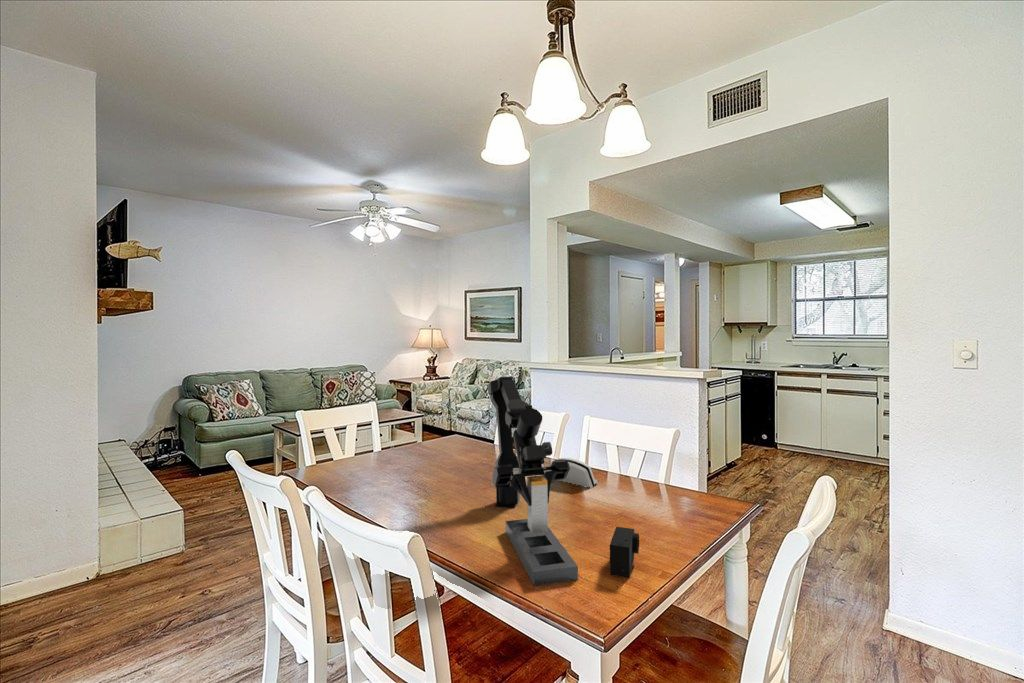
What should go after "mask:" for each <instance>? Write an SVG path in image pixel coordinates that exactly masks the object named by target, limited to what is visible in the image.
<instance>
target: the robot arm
mask: <svg viewBox="0 0 1024 683" xmlns="http://www.w3.org/2000/svg"><path fill="white" fill-rule="evenodd" d="M519 392H520V391H519V390H518V387H517V383H516V379H515V377H514V376H511V375H510V376H500V377H497V379H496V378H495V379H493V380H491V381H490V382H489V383H488V384H487V394H488V396H489V398H490V402H491V404H492V405H493V406H494V408H495V411H496V412H495V415H496V425H497V426H496V427H497V438H498V449H499V454H498V456H497V458H496V461H495V467H494V468H493V471H492V476H491V477H492V484H493V486H494V487H495V489H496V490H495V491H496V492H495V493H496V494H495V496H496V498H495V499H496V502H495V503H494V506H495V507H502V508H503V507H505V508H516V506H517V505H518V504H519V502H520V499H521V498H523V499H524V502H526V505H527V504H528V505H529V506H531V499H530V495H529V492H528V488H527V479H526V477H530V476H541V475H543V476H544V477H545V478H546V479H547V487H548V504H549V502H550V494H551V493H550V491H551V484H552V483H554V481H557V480H563V479H565V478H566V476H567V474H568V472H569V470H570V466H569V463H568V462H567V461H566V460H558V461H554V460H553V461H552V462H551V463H552V464H550V465H551V466H549V465H548V466H543V465H544V464H545V459H547V456H548V457H549V456H551V455H553V447H552V443H551V442H550V441H545V442H542V444H537V439H536V436H538V433H539V430H540V428H541V424H542V422H543V415H542V414H541V412H540V411H539V410H537V409H536V408H533V405H532V404H529V403H528V402H526V401H523V399H522V398H521V395H520V393H519ZM512 429H514V431H513V430H512ZM514 447H515V452H516V453H515V452H514ZM520 496H521V498H520Z"/></svg>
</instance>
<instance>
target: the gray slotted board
mask: <svg viewBox="0 0 1024 683" xmlns="http://www.w3.org/2000/svg"><path fill="white" fill-rule="evenodd" d="M505 533H506V535H507V537H508V539H509V541H510V543H511V545H512V547H513V549H514V550H515V552H516V554H517V557H518V558H519V560H520V562H521V563H522V566H523V568H524V570H525V572H526V571H527V572H526V574H527V575H528V577H529V579H530V581H531V583H532V585H533V584H534V585H533V586H534V587H536V586H535V585H538V586H543V585H542V584H545V585H550V584H558V583H565V582H572V581H573V582H574V581H578V580H579V565H578V564H577V563H576V561H574V559H573V558H572V556H571V555H570V553H568V551H567V550H566V549H565V547H564V545H562V543H561V542H560V540H559V539H558V538H557V536H556V535H555V534H554V533H553V531H552V530H551V529H550V527H549V526H548V532H540V533H531V531H530V529H529V528H528V518H524V519H523V518H522V519H513V520H506V521H505Z"/></svg>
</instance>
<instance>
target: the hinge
mask: <svg viewBox="0 0 1024 683" xmlns="http://www.w3.org/2000/svg"><path fill="white" fill-rule="evenodd" d="M558 460H566V461H567V462H568V463H569V466H570V470H569V472H568V474H567V476H566V478H565V479H563V480H559V481H558V482H561V481H563V482H562V483H565V482H568V483H567V484H569V483H572V484H571V485H574V484H576V485H575V486H578V485H581V486H580V487H582V486H586V487H585V488H587V487H592V488H593V487H594V485H595V484H598V480H597V479H595V476H594V473H593V470H592V468H591V466H590V465H589V464H587V463H585V462H583V461H581V460H578V459H574V458H570V457H558V458H556V459H554V460H553V461H558ZM551 464H552V462H551ZM551 464H550V466H551ZM595 486H596V485H595Z"/></svg>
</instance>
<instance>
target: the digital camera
mask: <svg viewBox="0 0 1024 683" xmlns="http://www.w3.org/2000/svg"><path fill="white" fill-rule="evenodd" d="M639 551H640V533H636V532H635V529H634V528H629V527H623V526H622V527H621V526H616V527H615V528H614V532H613V535H612V537H611V540H610V544H609V576H615V577H621V578H624V579H625V578H626V579H630V577H631V574H632V569H633V565H634V560H635V554H639Z"/></svg>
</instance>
